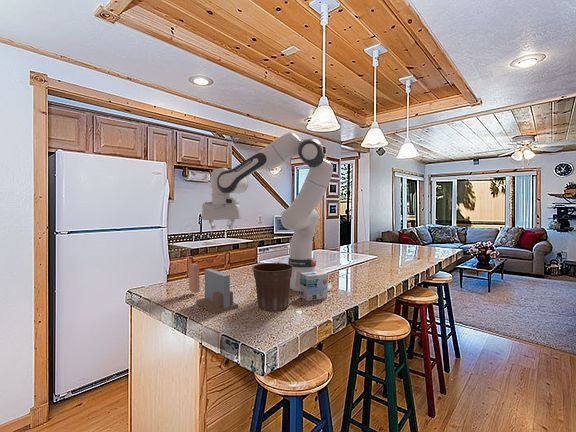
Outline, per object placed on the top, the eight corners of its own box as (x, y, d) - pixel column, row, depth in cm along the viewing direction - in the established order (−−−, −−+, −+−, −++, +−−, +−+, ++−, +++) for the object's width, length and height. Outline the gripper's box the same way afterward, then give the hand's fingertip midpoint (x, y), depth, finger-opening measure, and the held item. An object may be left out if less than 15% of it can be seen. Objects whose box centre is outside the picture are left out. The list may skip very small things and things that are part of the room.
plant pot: (259, 316, 119) (259, 272, 118) (247, 303, 134) (247, 264, 133) (299, 310, 125) (300, 268, 125) (283, 298, 140) (283, 261, 139)
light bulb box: (307, 301, 137) (307, 276, 136) (299, 297, 143) (299, 272, 142) (328, 298, 142) (328, 273, 141) (319, 294, 147) (319, 270, 147)
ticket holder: (196, 303, 133) (196, 270, 133) (218, 298, 140) (218, 267, 139) (215, 313, 121) (214, 277, 120) (238, 308, 128) (238, 273, 127)
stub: (189, 290, 147) (189, 263, 147) (194, 289, 149) (194, 263, 148) (194, 292, 143) (193, 265, 143) (199, 291, 145) (199, 264, 144)
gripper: (198, 201, 161) (200, 229, 161) (237, 199, 155) (238, 228, 155) (205, 202, 167) (206, 229, 167) (242, 200, 162) (243, 228, 162)
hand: (222, 229), depth 161 cm, fingers open, 8 cm apart
